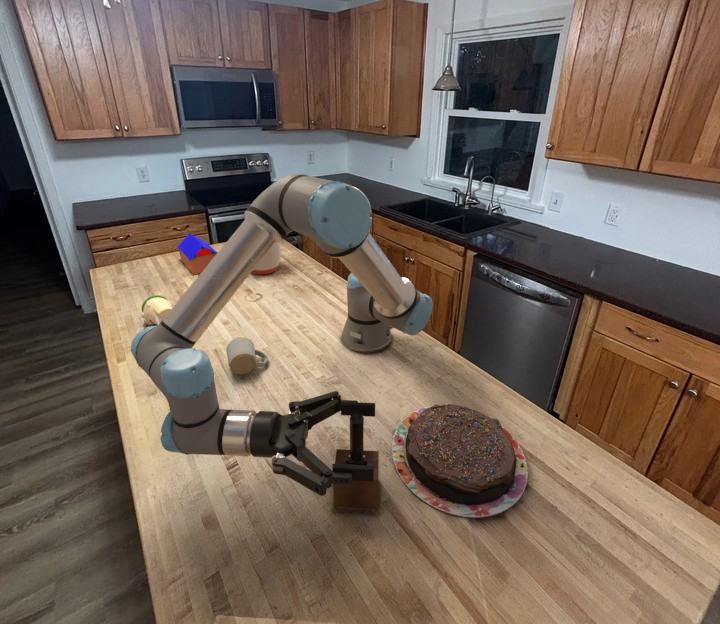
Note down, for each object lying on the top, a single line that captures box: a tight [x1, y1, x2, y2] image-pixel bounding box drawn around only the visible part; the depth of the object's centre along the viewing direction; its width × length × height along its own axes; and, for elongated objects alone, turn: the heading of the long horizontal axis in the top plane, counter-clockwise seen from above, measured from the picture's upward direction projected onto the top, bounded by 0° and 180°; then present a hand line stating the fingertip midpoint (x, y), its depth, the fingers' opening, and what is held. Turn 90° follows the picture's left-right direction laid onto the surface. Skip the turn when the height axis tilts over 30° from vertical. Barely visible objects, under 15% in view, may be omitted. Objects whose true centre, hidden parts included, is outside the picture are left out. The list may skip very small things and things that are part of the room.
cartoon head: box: [140, 294, 173, 326], centre depth 129 cm, size 9×10×20 cm
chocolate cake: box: [391, 403, 530, 519], centre depth 81 cm, size 28×28×7 cm
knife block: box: [332, 448, 380, 511], centre depth 72 cm, size 8×6×9 cm
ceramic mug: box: [225, 336, 269, 376], centre depth 108 cm, size 11×8×8 cm
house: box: [177, 233, 218, 276], centre depth 171 cm, size 12×20×12 cm, turn 37°
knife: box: [348, 413, 365, 465], centre depth 70 cm, size 3×2×19 cm
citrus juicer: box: [251, 242, 282, 276], centre depth 164 cm, size 16×17×20 cm
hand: (374, 438), depth 68 cm, fingers open, 13 cm apart
